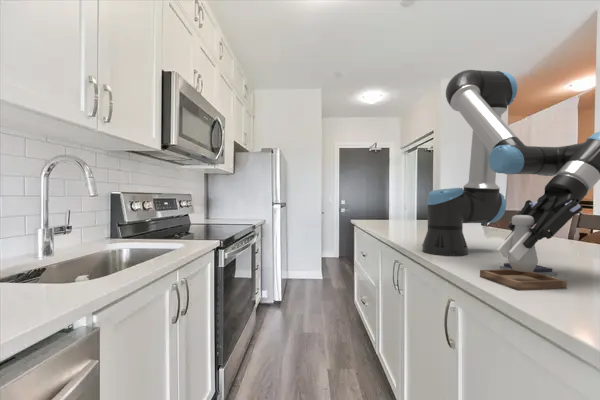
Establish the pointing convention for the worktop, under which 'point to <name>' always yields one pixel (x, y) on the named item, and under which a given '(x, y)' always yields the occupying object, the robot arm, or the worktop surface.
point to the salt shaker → (521, 227)
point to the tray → (523, 279)
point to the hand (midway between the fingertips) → (507, 254)
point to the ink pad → (537, 269)
